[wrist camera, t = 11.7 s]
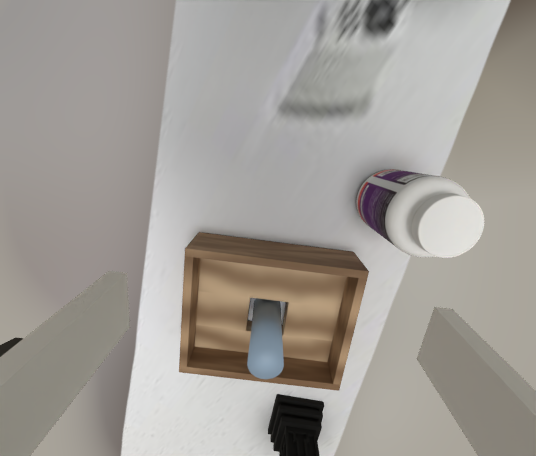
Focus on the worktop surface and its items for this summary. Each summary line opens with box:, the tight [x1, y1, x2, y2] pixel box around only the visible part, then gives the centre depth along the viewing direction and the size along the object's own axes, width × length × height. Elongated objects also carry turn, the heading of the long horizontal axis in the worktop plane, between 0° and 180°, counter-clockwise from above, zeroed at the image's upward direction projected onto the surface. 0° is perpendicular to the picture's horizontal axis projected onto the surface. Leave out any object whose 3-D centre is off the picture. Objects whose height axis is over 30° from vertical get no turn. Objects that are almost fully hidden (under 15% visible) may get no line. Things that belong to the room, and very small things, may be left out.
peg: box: [247, 298, 284, 379], centre depth 36 cm, size 4×4×12 cm
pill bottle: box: [357, 169, 484, 258], centre depth 30 cm, size 8×8×14 cm
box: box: [179, 232, 369, 390], centre depth 38 cm, size 18×22×6 cm
